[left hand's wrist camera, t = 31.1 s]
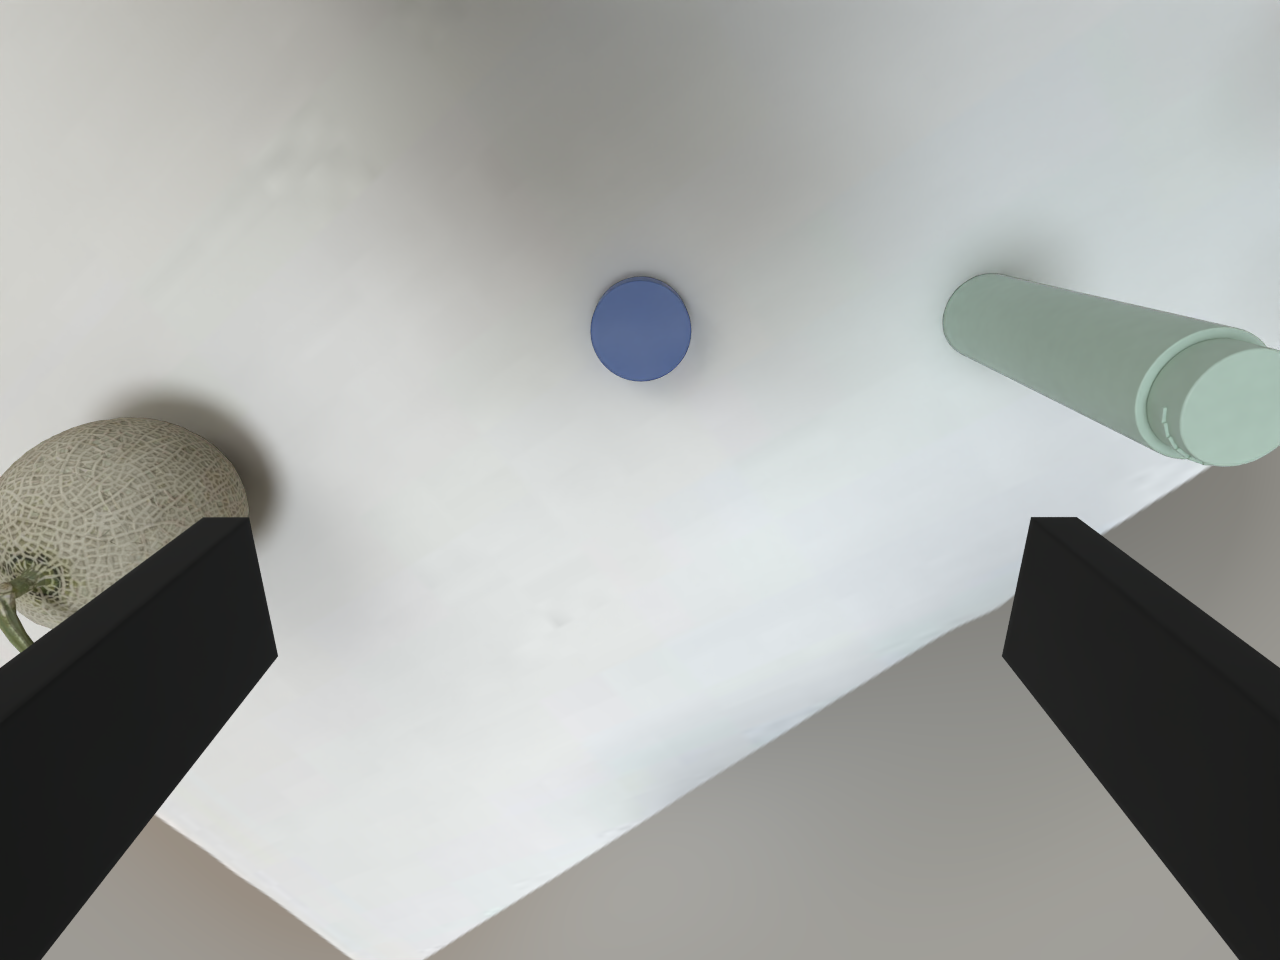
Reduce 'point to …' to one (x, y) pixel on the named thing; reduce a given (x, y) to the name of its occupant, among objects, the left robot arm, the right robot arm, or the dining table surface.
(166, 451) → the fruit
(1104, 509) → the dining table surface
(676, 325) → the lid
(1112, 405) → the pale green cylinder
